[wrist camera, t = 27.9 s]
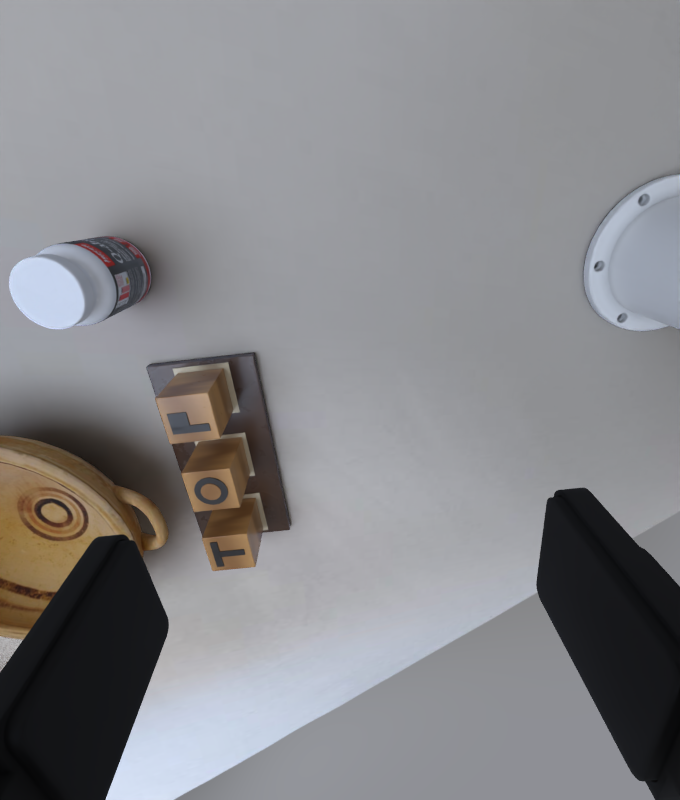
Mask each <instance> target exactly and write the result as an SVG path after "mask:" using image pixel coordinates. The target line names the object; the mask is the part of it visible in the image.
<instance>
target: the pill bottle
mask: <svg viewBox="0 0 680 800" xmlns="http://www.w3.org/2000/svg"><path fill="white" fill-rule="evenodd" d="M150 285H151V272H150V268H149V265H148V263H147V261H146V259H145V257H144V256H143V254H142V253H141V252H140V251H139V250H138V249H137V248H136V247H135V246H134V245H132V244H131V243H129V242H127V241H125V240H123V239H120V238H117V237H110V236H105V237H97V238H90V239H85V240H78V241H72V242H65V243H59V244H55V245H51V246H49V247H46V248H45V249H43V250H42V251H40V252H39V253H38V254H37V255H35V256H32V257H28V258H26V259H23V260H21V261H20V262H18V263H17V264H16V265H15V267H14V268H13V269H12V271H11V274H10V278H9V287H10V292H11V295H12V298H13V300H14V302H15V303H16V305H17V307H18V308H19V309H20V310H21V312H22V313H23V314H24V315H25V316H27V317H28V318H29V319H30V320H32V321H33V322H35V323H37V324H39V325H41V326H43V327H46V328H50V329H66V328H70V327H72V326H74V325H78V326H87V325H93V324H96V323H99V322H101V321H103V320H105V319H107V318H109V317H111V316H113V315H115V314H117V313H119V312H120V311H122V310H124V309H126V308H128V307H130V306H132V305H134V304H136V303H138V302H139V301H141V300H142V299H143V298H144V297H145V296H146V294H147V293H148V291H149V288H150Z"/></svg>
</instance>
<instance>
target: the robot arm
mask: <svg viewBox="0 0 680 800" xmlns="http://www.w3.org/2000/svg"><path fill="white" fill-rule="evenodd" d="M638 200H639V201H638ZM595 264H596V266H595ZM594 266H595V267H594ZM584 286H585V291H586V296H587V298H588V300H589V302H590V304H591V306H592V307H593V309H594V310H595V311H596V312H597V314H598V315H599V316H601V317H602V318H603V319H605V320H606V321H607V322H609V323H611V324H613V325H615V326H618V327H621V328H624V329H627V330H632V331H650V330H657V329H661V328H664V327H668V326H672V327H674V328H677V329H680V174H677V175H669V176H665V177H662V178H659V179H656V180H653V181H650V182H649V183H647V184H645V185H643V186H641V187H639V188H637V189H636V190H634V191H633V192H632V193H630V194H629V195H627V196H626V197H625V198H623V199H622V200H621V201H620V202H619V203H618V204H617V205H616V206H615V207H614V208H613V209H612V210H611V211H610V212H609V214H608V215H607V216H606V218H605V219H604V220H603V222H602V223H601V224H600V226H599V228H598V229H597V231H596V233H595V235H594V237H593V239H592V241H591V243H590V246H589V249H588V252H587V254H586V260H585V265H584ZM537 591H538V594H539V598H540V600H541V602H542V604H543V606H544V608H545V609H546V611H547V613H548V615H549V617H550V619H551V621H552V623H553V625H554V627H555V629H556V630H557V632H558V634H559V636H560V638H561V640H562V642H563V644H564V646H565V647H566V649H567V651H568V653H569V655H570V657H571V659H572V661H573V663H574V665H575V666H576V668H577V670H578V672H579V674H580V676H581V678H582V680H583V682H584V683H585V685H586V687H587V689H588V691H589V693H590V695H591V697H592V699H593V701H594V702H595V704H596V706H597V708H598V710H599V712H600V714H601V716H602V718H603V720H604V722H605V724H606V725H607V727H608V729H609V731H610V733H611V735H612V737H613V739H614V741H615V743H616V744H617V746H618V748H619V750H620V752H621V754H622V756H623V758H624V760H625V761H626V763H627V765H628V767H629V769H630V771H631V772H632V774H633V775H634V776H635V777H636V778H637V779H638V780H639V781H645V782H646V783H647V785H648V787H649V789H650V791H651V793H652V795H653V796H654V798H655V800H680V587H679V585H678V584H677V583H676V582H675V581H674V580H673V579H672V578H671V577H670V575H669V574H668V573H667V572H666V571H665V570H664V569H663V568H662V567H661V566H660V565H659V563H658V562H657V561H656V560H655V559H654V558H653V557H652V556H651V555H650V554H649V553H648V552H647V551H646V550H645V549H643V548H641V547H639V546H638V545H637V544H636V543H635V541H634V540H633V539H632V538H631V537H630V536H629V535H628V533H627V532H626V531H625V530H624V529H623V528H622V527H621V526H620V524H619V523H618V522H617V521H616V520H615V519H614V518H613V517H612V516H611V514H610V513H609V512H608V511H607V510H606V509H605V508H604V507H603V505H602V504H601V503H600V502H599V501H598V500H597V499H596V498H595V496H594V495H593V494H592V493H591V492H590V491H589V490H588V489H586V488H575V489H565V490H558V491H556V492H555V494H554V497H553V498H549V499H548V500H547V505H546V513H545V521H544V529H543V536H542V544H541V552H540V559H539V567H538V575H537ZM168 626H169V623H168V617H167V615H166V612H165V610H164V608H163V605H162V603H161V601H160V598H159V596H158V594H157V591H156V589H155V587H154V584H153V582H152V580H151V577H150V575H149V573H148V570H147V568H146V565H145V563H144V561H143V558H142V556H141V554H140V551H139V549H138V547H137V544H136V543H135V541H133V540H129V538H128V537H127V536H126V535H124V534H120V535H110V536H100V537H97V538H95V539H94V540H93V541H92V542H91V544H90V545H89V546H88V548H87V549H86V551H85V552H84V554H83V555H82V557H81V558H80V559H79V561H78V562H77V564H76V565H75V567H74V568H73V569H72V571H71V572H70V574H69V575H68V577H67V578H66V579H65V581H64V582H63V584H62V585H61V587H60V588H59V589H58V591H57V592H56V594H55V595H54V597H53V598H52V599H51V601H50V602H49V604H48V605H47V607H46V608H45V609H44V611H43V612H42V614H41V615H40V617H39V618H38V619H37V621H36V622H35V624H34V625H33V627H32V628H31V630H30V631H29V632H28V634H27V635H26V637H25V638H24V640H23V641H22V642H21V644H20V645H19V647H18V648H17V650H16V651H15V652H14V654H13V655H12V657H11V658H10V660H9V661H8V662H7V664H6V665H5V667H4V668H3V670H2V671H1V672H0V800H105V799H106V796H107V794H108V791H109V788H110V786H111V783H112V780H113V778H114V775H115V772H116V770H117V767H118V764H119V762H120V759H121V756H122V754H123V751H124V748H125V746H126V743H127V740H128V738H129V735H130V732H131V730H132V727H133V724H134V722H135V719H136V716H137V714H138V711H139V708H140V706H141V703H142V701H143V698H144V695H145V693H146V690H147V687H148V685H149V682H150V679H151V677H152V674H153V671H154V669H155V666H156V663H157V661H158V658H159V655H160V653H161V650H162V647H163V645H164V642H165V639H166V637H167V633H168Z"/></svg>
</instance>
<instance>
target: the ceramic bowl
mask: <svg viewBox="0 0 680 800" xmlns="http://www.w3.org/2000/svg"><path fill="white" fill-rule="evenodd" d="M131 505H133V506H135V507H137V508H138V509H140V510H141V511H142V512H143V513H144V514H145V515H146V516H147V517H148V519H149V520H150V522H151V524H152V526H153V528H154V530H155V533H156V535H151V534H147V533H144V532H142V531H141V527H140V524H139V522H138V519H137V516H136V514H135V511H134V509H133V508H132V506H131ZM120 534H124V535H126V536H127V537H128V538H129V540H133V541H135V543H136V544H137V547H138V549H139V551H140V554H141V556H142V558H143V552H144V551H147V550H155V549H158V548H160V547H162V546H163V545H164V544H165V543H166V541H167V539H168V535H169V531H168V527H167V524H166V521H165V519H164V517H163V515H162V514H161V512H160V510H159V509H158V507H157V506H156V505H155V504H154V503H153V502H152V501H151V500H150V499H148V498H147V497H145V496H144V495H142V494H140V493H138V492H136V491H133V490H130V489H128V488H124V487H121V486H117V485H115V484H114V483H113V481H112V480H110V479H109V478H108V477H107V476H106V475H105V474H103V473H102V472H101V471H100V470H99V469H98V468H96V467H95V466H93V465H91V464H90V463H88V462H87V461H85V460H84V459H82V458H81V457H78V456H76V455H74V454H72V453H70V452H68V451H66V450H64V449H62V448H59V447H56V446H53V445H50V444H47V443H44V442H41V441H37V440H32V439H27V438H22V437H17V436H3V435H0V636H2V637H7V638H14V639H21V640H24V638H25V637H26V635H27V634H28V632H29V631H30V630H31V628H32V627H33V625H34V624H35V622H36V621H37V619H38V618H39V617H40V615H41V614H42V612H43V611H44V609H45V608H46V607H47V605H48V604H49V602H50V601H51V599H52V598H53V597H54V595H55V594H56V592H57V591H58V589H59V588H60V587H61V585H62V584H63V582H64V581H65V579H66V578H67V577H68V575H69V574H70V572H71V571H72V569H73V568H74V567H75V565H76V564H77V562H78V561H79V559H80V558H81V557H82V555H83V554H84V552H85V551H86V549H87V548H88V546H89V545H90V544H91V542H92V541H93V540H94V539H95V538H97V537H100V536H110V535H120Z"/></svg>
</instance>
